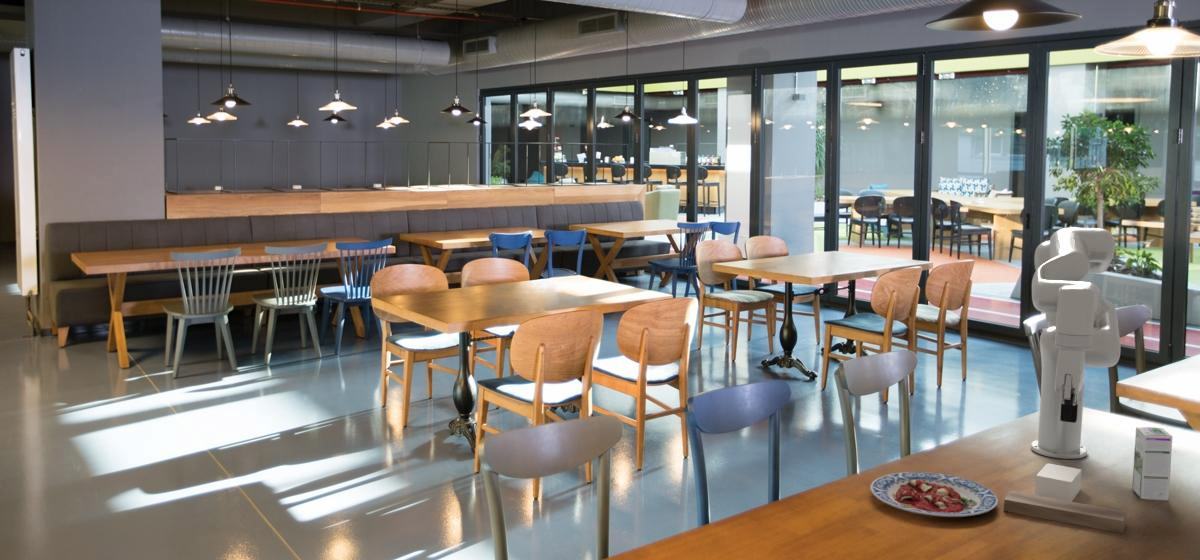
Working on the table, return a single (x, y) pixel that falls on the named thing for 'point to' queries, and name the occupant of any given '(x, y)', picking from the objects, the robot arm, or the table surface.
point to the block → (1058, 482)
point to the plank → (1066, 511)
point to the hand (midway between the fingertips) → (1068, 420)
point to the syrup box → (1152, 463)
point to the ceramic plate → (934, 494)
